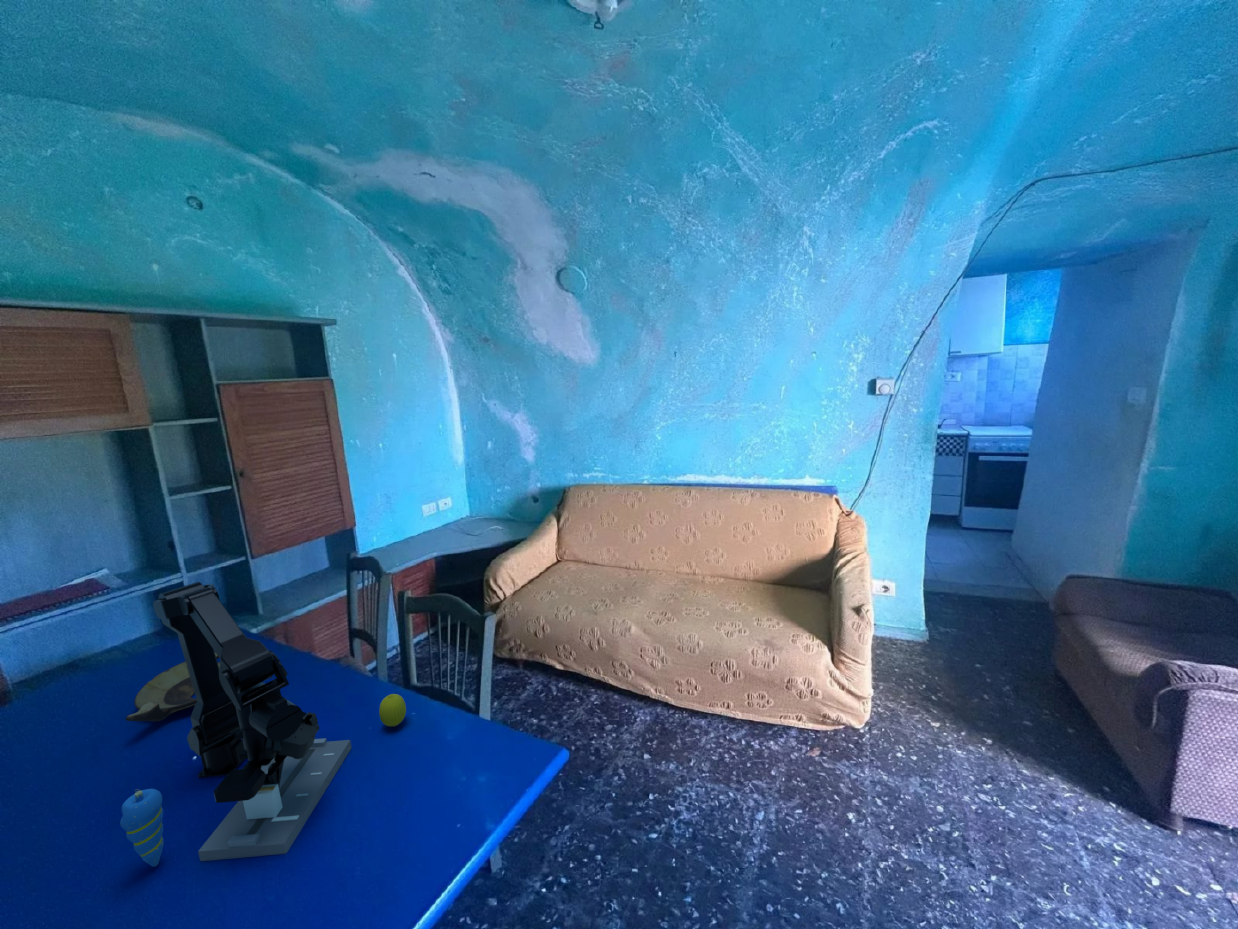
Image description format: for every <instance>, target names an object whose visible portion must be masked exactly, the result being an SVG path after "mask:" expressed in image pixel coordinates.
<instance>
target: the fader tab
mask: <svg viewBox="0 0 1238 929" xmlns="http://www.w3.org/2000/svg"><path fill="white" fill-rule="evenodd" d="M243 804H244V808H245V813H246V817H247V820H248V819H260V818H271V817H276V816H277V815H278V813H279V812H280V811H281V809H282V808H283V807H282V802H281V797H280V792H279V787H278V784H272V785H263V786H262V787H261V789H260V790H259V791H258V793H257V794H256V795H255V796H254V797H253V798H251V799H250V800H245V801H243Z"/></svg>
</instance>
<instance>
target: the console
mask: <svg viewBox="0 0 1238 929" xmlns="http://www.w3.org/2000/svg"><path fill="white" fill-rule="evenodd" d="M351 750H352V741H351V739H344V740H342V739H341V740H333V741H331V740H329V741H328V740H327V738H326V737H325V738H315V739H314V743H313V745H312V746H311V747H310V749H309V750H308V751H307V753H306V755H305V756H304V757H303V758H301V759H294V758H293V757H289V756H287V757H286V758H285V759H284V763H283V768H282V774H281V780H280V785H279V792H280V797H281V802H282V807H283V808H282V809H281V811H280V812H279V813H278V815H277V816H276V817H271V818H260V819H248V820H247V817H246V813H245V808H244V804H243V801H236V804H234V806H233V807H232V808H231V810H230V811H229V812H228V814H227V815H226V816H225V817H224V818H223V820H222V821H220V823H219V825H218V826H217V827H216V829H215V830H214V831H213V832H212V834H211V835H210V836H209V837H208V839H207V840H206V841H205V842H204V843H203V844H202V846H201V847H200V848H199V850H198V851H197V853H198V857H199V861H200V862H208V861H219V860H221V861H222V860H228V859H229V860H230V859H240V858H241V859H242V858H252V857H264V856H274V855H285V854H287V853H288V852H289V851H290V848H291V846H292V845H293V844H294V842H295V840H296V839H297V837H298V835H299V833H301V831H302V829H303V828H304V827H305V824H306V822H307V821H308V820H309V817H310V816H311V814H312V813H313V812H314V809H315V808H316V806H317V805H318V804H319V801H321V799H322V796H323V795H324V793H325V792H326V790H327V788H328V786H330V784H331V782H332V781H333V779H334V777H335V775H336V774H337V772H338V770H339V769H340V768H341V766H342V764H343V763H344V761H345V760H346V758H347V756H348V754H350V751H351Z"/></svg>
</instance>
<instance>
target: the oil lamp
mask: <svg viewBox="0 0 1238 929" xmlns="http://www.w3.org/2000/svg"><path fill="white" fill-rule="evenodd" d="M214 652H215V651H214ZM215 655H216V659H217V660H218V659H220V658H219V657H218V655H217V654H216V652H215ZM217 663H218V666H219V667H220V661H217ZM194 695H195V692H194V689H193V685H192V682H191V679H190V675H189V672H188V668H187V665H186V661H185V660H184V661H183V662H180V663H178V664H176V665H174V666H171V667H169V668H168V669H166V670H164V671H162V672H161V673H159V674H157V675H156V676H154V677H153V678H152V679H151V680H148V681H147V682H146V683H145V684H144V686H142V688H140V690H139V691H138V692H137V694H136V696H135V697H134V702H133V703H134V707H135V709H137V712H135V713H131V714H128V715H126V718H125V719H124V720H125V721H127V722H160V721H163V720H165V719H167V718H168V716H170V715H171V714H173V713H175V712H179V711H183V710H184V709H189V708H191V707H195V705H196V702H197V699H196V697H193V696H194Z"/></svg>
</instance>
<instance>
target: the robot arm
mask: <svg viewBox="0 0 1238 929" xmlns="http://www.w3.org/2000/svg"><path fill="white" fill-rule="evenodd" d="M152 605H153V610H154V613H155V615H156V617H157V618H158V619H160V620H161V622H162V625H164V626H166V627H167V628H169V629H171V631H173V632H175V633H176V634H177V638H178V640H179V644H180V647H181V651H182V654H183V656H184V657H183V658H184V662H185V661H186V665H187V668H188V672H189V675H190V679H191V682H192V685H193V689H194V692H195V693H194V695H195V699H197V702H196V705H194V706H193V710H192V712H191V715H190V721H191V725H192V727H191V728H190V730H189V733H188V735H187V737H186V740H187V743H188V746H189V748H190V750H191V751H193V752H194V753H195V754H196V755H197V756H198V757H200V760H201V763H202V767H203V769H202V770H201V771H200V772H199V773H198V774H197V777H198V778H211V777H213V778H214V777H221V776H223V777H224V776H225V777H224V778H223V779H222V780H221V782H219V784H218V785H216V788H214V789H213V791H212V792H213V796H214V799H215V803H216V804H220V803H230V802H231V803H232V802H238V801H245V800H250V799H251V798H253V797H254V796H255V795H256V794H257V793H258V791H259V790H260V789H261V787H262V786H263V785H272V784H278V787H279V785H280V780H281V774H282V768H283V763H284V759H285V758H286V757H287V756H289V757H293V758H294V759H301V758H303V757H304V756H305V755H306V753H307V751H308V750H309V749H310V747H311V746H312V745H313V743H314V739H316V735H317V733H318V732H319V730H320V728H321V727H320V726H319V720H318V718H317V715H316V713H314V712H310V711H308V712H307V713H306V712H305V711H303V710H302V708H301V707H299V706H298V705H297V704H295V703H293V702H291V701H290V700H288V699H287V698H285V697H284V696H283V695H282V694H281V693H282V692H281V689H283V688H285V687H287V686H289V685H290V683H289V680H288V678H287V676H288V672H287V670H286V668H285V667H284V665H283V664H282V662H281V660H280V659H279V657H278V655H277V654H275V653H274V651H272V650H271V649H270V650H269V649H268V648H267V647H266V646H265V644H264V643H262V641H260V640H259V639H258V640H257V639H253V638H249V637H248V636H246V634H245V633H244V632H243V631H242V629H241V628H240V627H239V625H238V624H237V622H236V621H235V619H234V618H233V617H232V616H231V614H230V613H229V611H228V610H227V608H226V607H225V606H224V605H223V603H222V602H221V600H220V594H219V592H218V590H217V589H216V588H215V585H214V583H210V584H209V583H208V584H204V585H203V583H201V582H200V581H196V582H193V583H190V584H187V585H183V586H180V587H177V588H174V589H171V590H167V591H165V592H164V591H163V592H162V593H159V595H158V599H156V600H154V601H153V603H152ZM215 652H216V654H217V655H218V657H219V658H218V659H219V662H220V667H219V666H218V663H217V662H218V659H216V655H215ZM273 676H275V678H274V679H272V680H270V681H269V682H266V683H265V681H266V680H269V679H271V678H272V677H273ZM244 760H247V762H246V763H245V765H243V767H242V768H241V769H239V768H238V767H239V766H240V765H241V763H243V761H244Z"/></svg>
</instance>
